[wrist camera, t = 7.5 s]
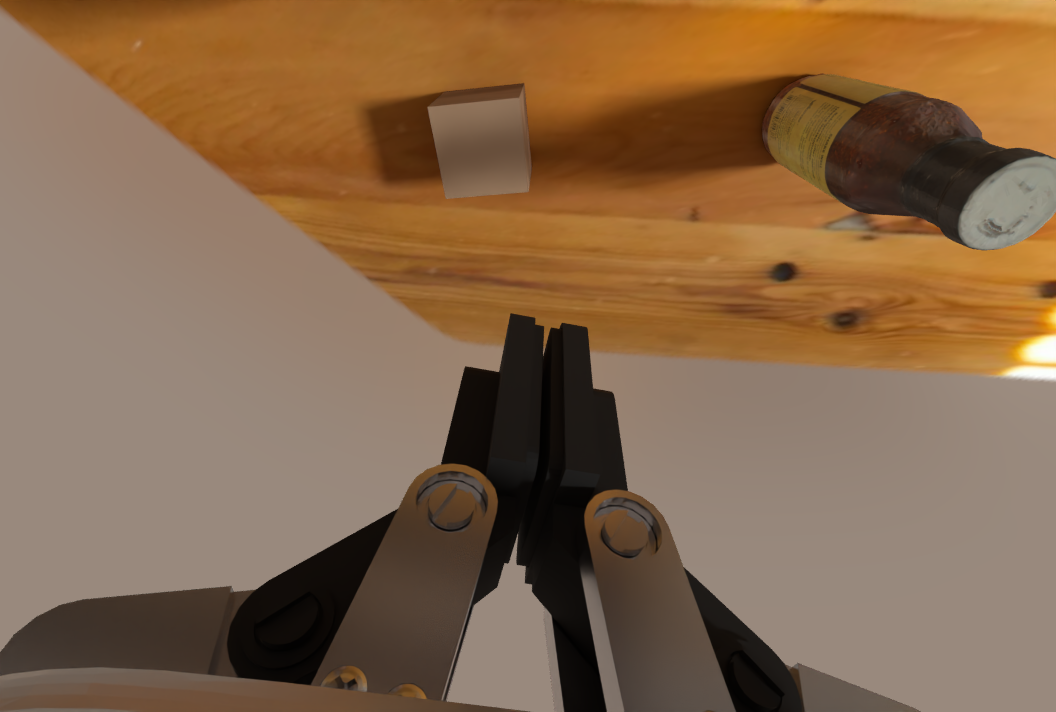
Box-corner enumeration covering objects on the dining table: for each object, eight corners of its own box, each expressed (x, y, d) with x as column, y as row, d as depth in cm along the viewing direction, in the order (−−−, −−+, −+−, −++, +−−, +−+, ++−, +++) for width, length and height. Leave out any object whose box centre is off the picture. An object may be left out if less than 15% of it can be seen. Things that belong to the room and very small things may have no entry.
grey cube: (444, 91, 36) (427, 107, 31) (524, 83, 36) (519, 97, 31) (459, 173, 40) (445, 198, 35) (531, 167, 39) (528, 191, 34)
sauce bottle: (774, 177, 39) (926, 307, 23) (745, 107, 36) (896, 199, 20) (862, 126, 36) (1101, 232, 20) (838, 46, 33) (1095, 96, 17)
